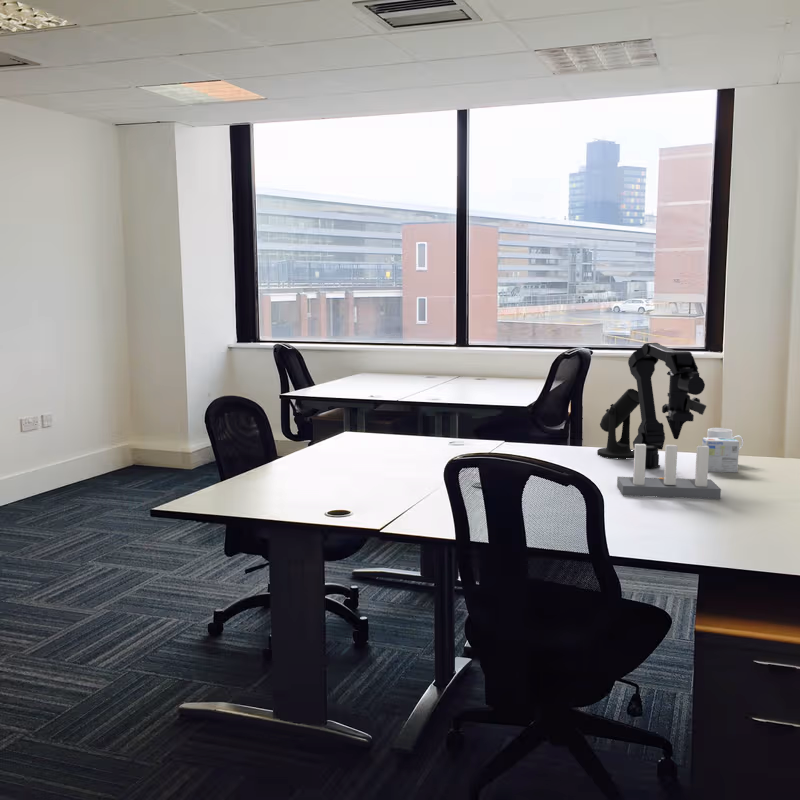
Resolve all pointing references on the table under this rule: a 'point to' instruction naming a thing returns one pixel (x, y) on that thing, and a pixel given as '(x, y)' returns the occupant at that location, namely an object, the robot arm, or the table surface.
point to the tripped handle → (670, 465)
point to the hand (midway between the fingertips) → (676, 439)
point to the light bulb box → (722, 454)
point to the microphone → (613, 420)
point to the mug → (722, 434)
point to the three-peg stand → (656, 486)
